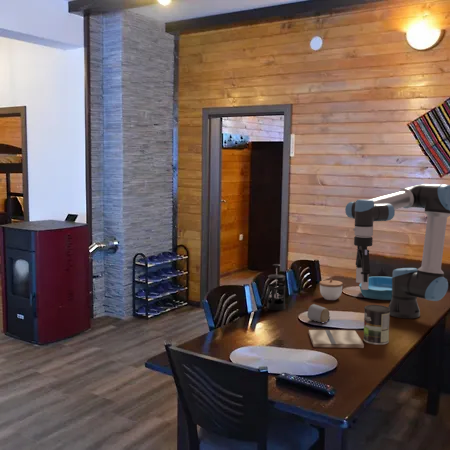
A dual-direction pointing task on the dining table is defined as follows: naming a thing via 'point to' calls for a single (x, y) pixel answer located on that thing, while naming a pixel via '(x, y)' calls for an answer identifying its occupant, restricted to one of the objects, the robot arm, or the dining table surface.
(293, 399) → the dining table surface
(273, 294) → the french press
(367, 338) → the coffee can
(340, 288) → the lidded bowl
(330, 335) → the plywood board
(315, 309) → the ceramic mug
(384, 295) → the casserole dish
